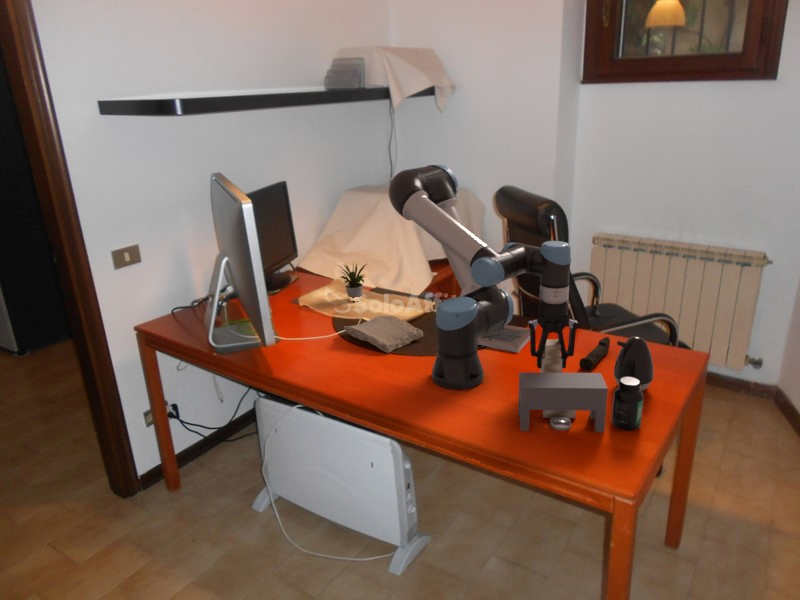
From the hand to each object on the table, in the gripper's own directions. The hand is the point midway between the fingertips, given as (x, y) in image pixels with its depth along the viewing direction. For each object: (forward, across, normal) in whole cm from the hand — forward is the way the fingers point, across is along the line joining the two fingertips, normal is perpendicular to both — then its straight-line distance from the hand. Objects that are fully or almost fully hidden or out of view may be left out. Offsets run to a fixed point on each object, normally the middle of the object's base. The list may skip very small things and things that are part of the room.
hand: (550, 377), depth 167 cm
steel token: (+3, 0, -20) cm, 20 cm away
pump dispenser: (+3, +22, 0) cm, 22 cm away
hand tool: (+3, +16, +18) cm, 25 cm away
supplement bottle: (+3, +16, -19) cm, 25 cm away
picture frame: (+4, -13, +34) cm, 37 cm away
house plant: (+3, -69, +73) cm, 101 cm away
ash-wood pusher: (+3, 0, -7) cm, 8 cm away
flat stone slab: (+3, -53, +34) cm, 63 cm away
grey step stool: (+3, 0, -19) cm, 19 cm away
